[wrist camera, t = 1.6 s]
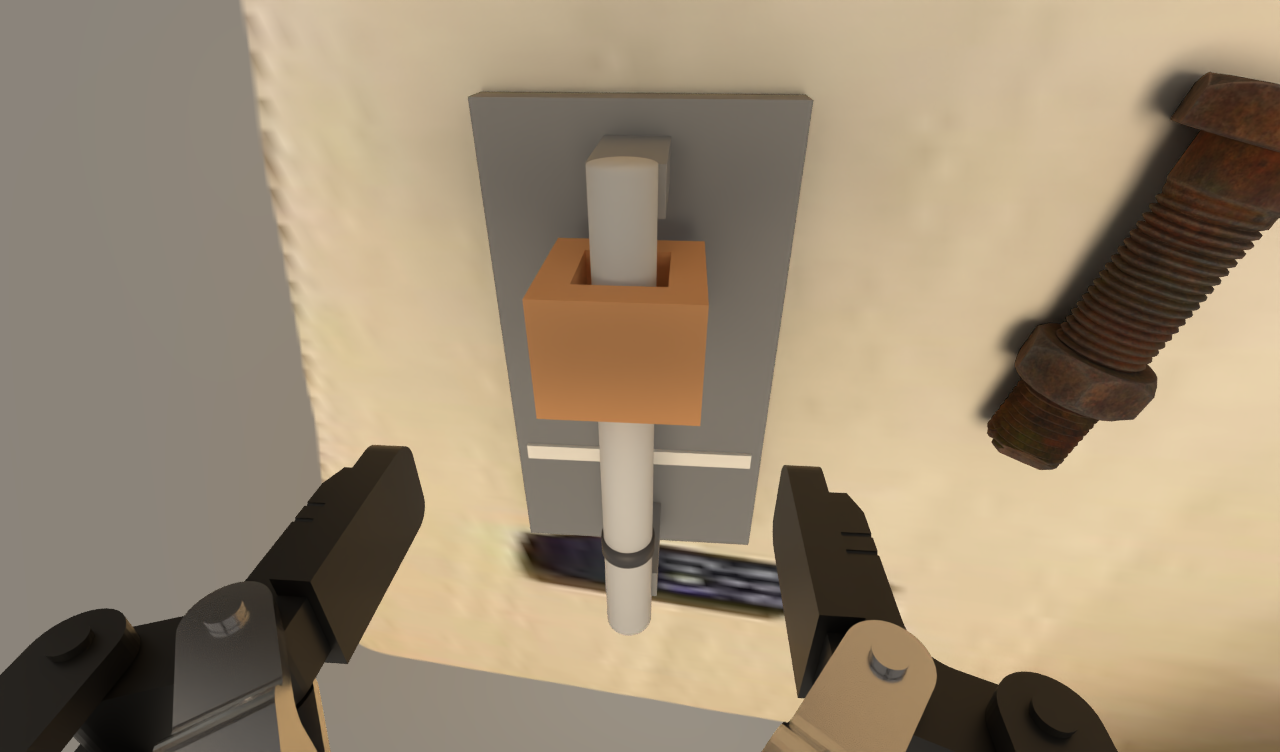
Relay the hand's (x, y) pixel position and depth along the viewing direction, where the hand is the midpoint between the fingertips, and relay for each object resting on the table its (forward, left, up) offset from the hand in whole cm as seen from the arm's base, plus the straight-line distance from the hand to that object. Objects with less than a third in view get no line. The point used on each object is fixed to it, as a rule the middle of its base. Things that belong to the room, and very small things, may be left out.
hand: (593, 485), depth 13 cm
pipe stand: (+5, 0, -14) cm, 15 cm away
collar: (0, 0, -10) cm, 10 cm away
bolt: (+1, +19, -15) cm, 24 cm away
